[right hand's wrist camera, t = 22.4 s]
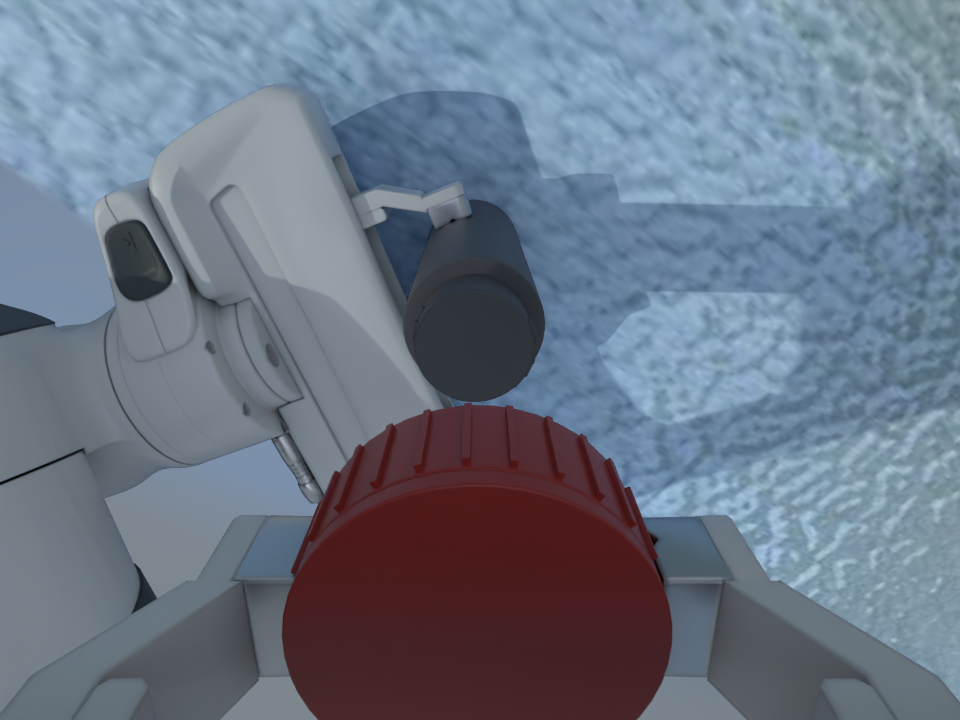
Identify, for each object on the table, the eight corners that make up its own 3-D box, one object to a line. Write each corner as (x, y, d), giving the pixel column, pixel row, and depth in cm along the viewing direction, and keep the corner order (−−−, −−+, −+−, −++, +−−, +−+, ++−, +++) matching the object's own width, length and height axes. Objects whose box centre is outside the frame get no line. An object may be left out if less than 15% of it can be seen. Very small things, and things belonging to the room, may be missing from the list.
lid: (502, 329, 9) (508, 394, 7) (702, 562, 11) (756, 670, 9) (248, 527, 10) (190, 630, 8) (459, 709, 12) (455, 836, 10)
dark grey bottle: (447, 300, 35) (430, 436, 20) (415, 218, 33) (371, 303, 19) (529, 271, 34) (571, 390, 20) (500, 186, 33) (523, 249, 18)
